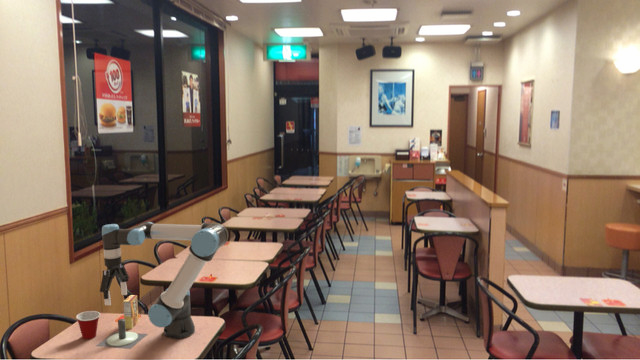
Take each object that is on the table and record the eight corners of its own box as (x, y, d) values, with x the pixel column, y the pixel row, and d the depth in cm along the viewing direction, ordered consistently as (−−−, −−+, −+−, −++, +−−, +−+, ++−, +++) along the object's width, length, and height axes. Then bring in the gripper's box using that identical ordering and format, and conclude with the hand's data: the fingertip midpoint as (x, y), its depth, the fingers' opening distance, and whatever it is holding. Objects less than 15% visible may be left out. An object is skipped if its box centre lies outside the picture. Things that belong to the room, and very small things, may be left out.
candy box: (131, 322, 261) (129, 294, 260) (139, 322, 261) (137, 294, 259) (124, 329, 253) (122, 301, 251) (132, 329, 253) (131, 301, 251)
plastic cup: (92, 343, 237) (90, 319, 236) (72, 341, 240) (70, 318, 238) (106, 334, 248) (105, 311, 246) (87, 332, 250) (85, 309, 249)
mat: (148, 335, 246) (148, 334, 246) (130, 350, 231) (130, 348, 231) (115, 332, 249) (115, 331, 249) (95, 347, 234) (95, 345, 234)
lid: (143, 334, 246) (142, 315, 244) (127, 347, 232) (126, 327, 231) (117, 332, 248) (116, 313, 247) (100, 345, 234) (99, 325, 233)
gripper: (120, 249, 248) (124, 290, 251) (88, 264, 224) (93, 309, 226) (134, 250, 247) (137, 291, 249) (103, 264, 222) (107, 309, 225)
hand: (116, 299), depth 238 cm, fingers open, 13 cm apart
